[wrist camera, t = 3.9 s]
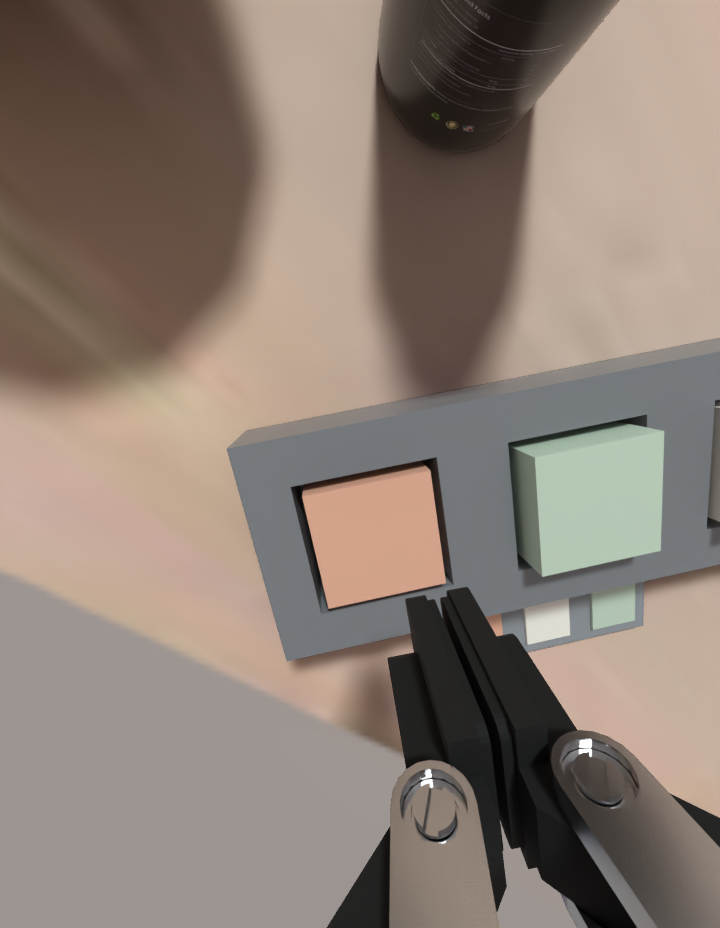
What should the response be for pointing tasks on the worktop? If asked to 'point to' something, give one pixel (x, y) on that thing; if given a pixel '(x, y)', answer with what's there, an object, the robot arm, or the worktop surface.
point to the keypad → (478, 486)
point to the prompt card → (573, 617)
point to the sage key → (587, 495)
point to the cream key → (715, 468)
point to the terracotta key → (375, 533)
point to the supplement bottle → (476, 62)
